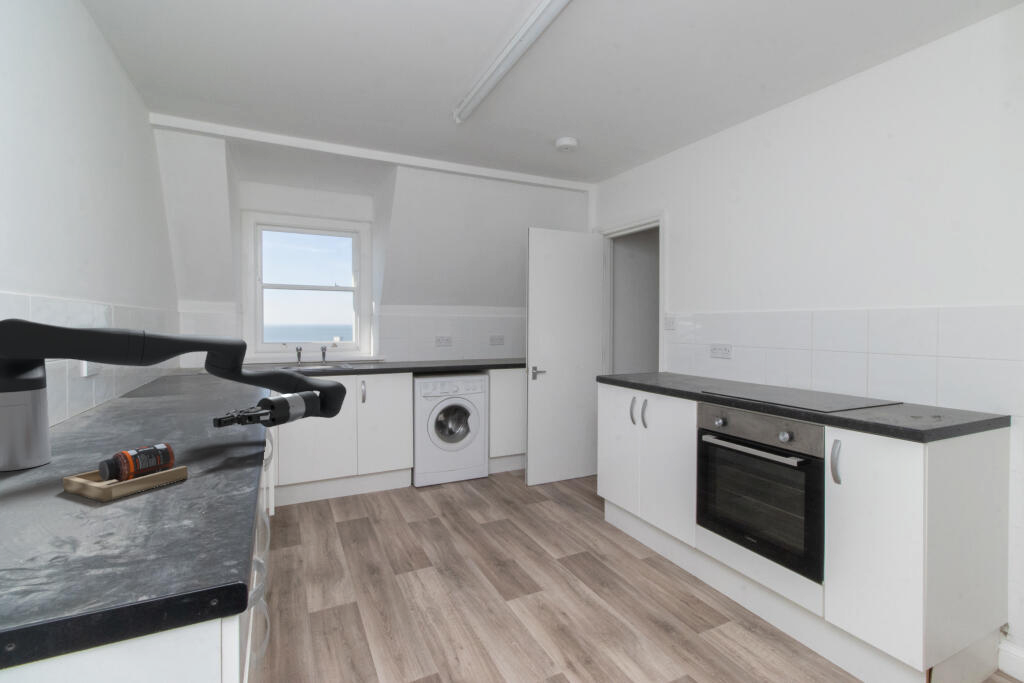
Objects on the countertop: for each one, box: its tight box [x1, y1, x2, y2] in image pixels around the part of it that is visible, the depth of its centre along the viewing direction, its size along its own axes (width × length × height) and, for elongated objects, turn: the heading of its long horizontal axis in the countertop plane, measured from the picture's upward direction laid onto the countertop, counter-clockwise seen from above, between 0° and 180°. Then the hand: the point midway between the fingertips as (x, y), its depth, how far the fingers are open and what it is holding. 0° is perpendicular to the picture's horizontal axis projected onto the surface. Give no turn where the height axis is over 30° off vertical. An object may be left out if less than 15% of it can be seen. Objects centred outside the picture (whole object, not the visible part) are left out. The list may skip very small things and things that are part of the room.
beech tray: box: [62, 465, 189, 503], centre depth 95 cm, size 15×14×2 cm
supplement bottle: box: [98, 442, 176, 482], centre depth 98 cm, size 6×6×11 cm
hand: (215, 423), depth 111 cm, fingers closed
